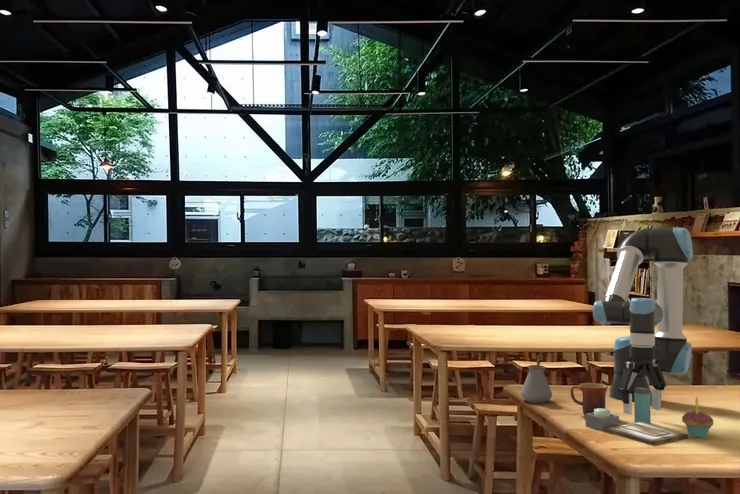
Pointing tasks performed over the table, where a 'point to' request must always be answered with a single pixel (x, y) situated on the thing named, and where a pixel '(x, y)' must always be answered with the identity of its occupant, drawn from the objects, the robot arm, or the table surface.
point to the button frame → (601, 421)
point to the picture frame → (646, 433)
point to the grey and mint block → (642, 405)
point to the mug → (591, 396)
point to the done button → (602, 412)
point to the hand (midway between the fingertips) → (642, 411)
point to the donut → (697, 422)
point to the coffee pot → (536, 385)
